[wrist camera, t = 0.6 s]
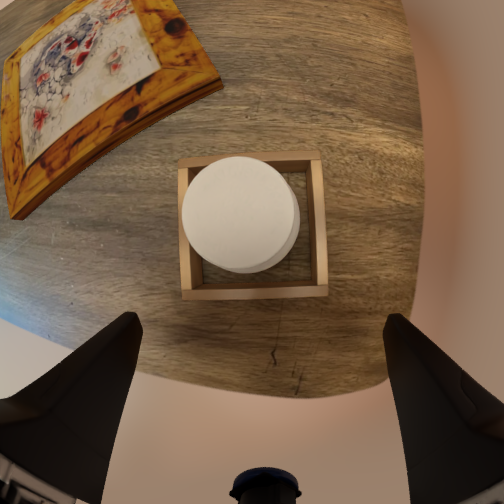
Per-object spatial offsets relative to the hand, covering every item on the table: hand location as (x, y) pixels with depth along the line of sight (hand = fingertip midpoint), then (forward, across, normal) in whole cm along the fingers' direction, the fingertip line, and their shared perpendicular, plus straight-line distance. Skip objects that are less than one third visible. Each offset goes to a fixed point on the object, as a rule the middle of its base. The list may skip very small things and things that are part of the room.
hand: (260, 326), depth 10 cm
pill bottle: (+15, +1, +4) cm, 15 cm away
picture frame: (+25, +22, -15) cm, 37 cm away
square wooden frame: (+14, +1, +4) cm, 15 cm away
